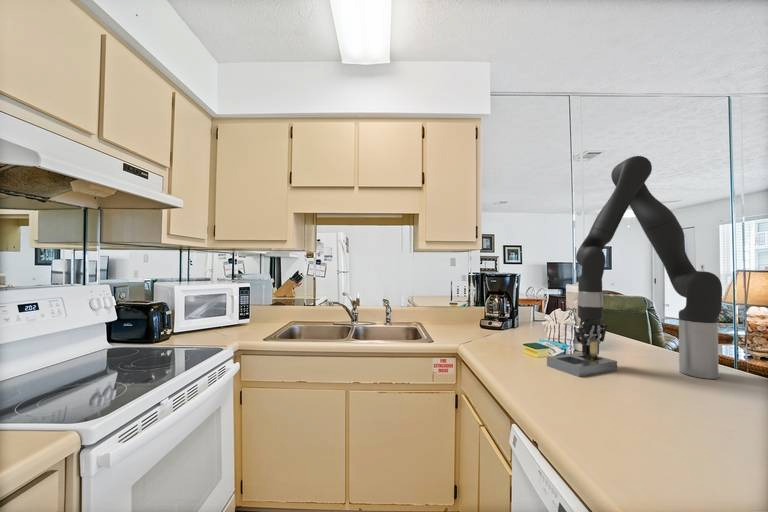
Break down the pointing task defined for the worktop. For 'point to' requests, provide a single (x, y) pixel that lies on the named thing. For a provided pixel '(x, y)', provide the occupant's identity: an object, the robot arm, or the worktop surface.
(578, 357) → the grey fitting block
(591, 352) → the gold and grey cylinder
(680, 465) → the worktop surface
